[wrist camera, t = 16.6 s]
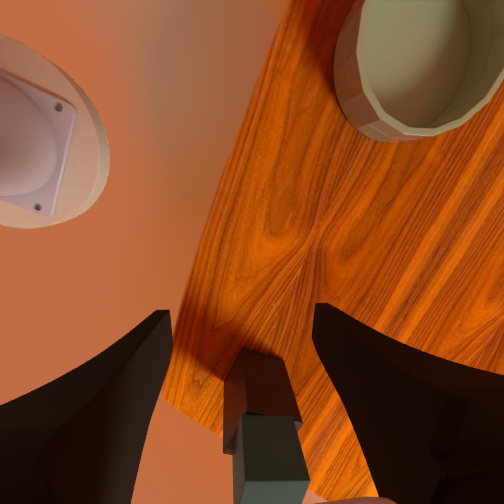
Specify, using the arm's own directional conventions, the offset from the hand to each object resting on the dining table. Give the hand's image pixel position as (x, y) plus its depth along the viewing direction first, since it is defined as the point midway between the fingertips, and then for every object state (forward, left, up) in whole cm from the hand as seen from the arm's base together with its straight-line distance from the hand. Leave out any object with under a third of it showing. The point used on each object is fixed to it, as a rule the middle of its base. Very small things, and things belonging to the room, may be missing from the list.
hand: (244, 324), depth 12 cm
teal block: (+7, -11, -3) cm, 13 cm away
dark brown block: (+7, -11, -10) cm, 17 cm away
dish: (+6, +19, -10) cm, 22 cm away
